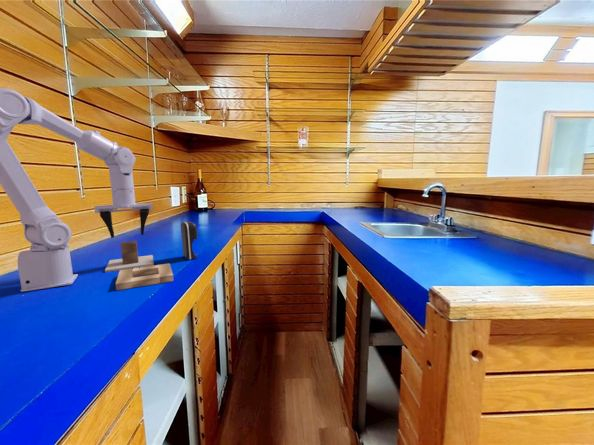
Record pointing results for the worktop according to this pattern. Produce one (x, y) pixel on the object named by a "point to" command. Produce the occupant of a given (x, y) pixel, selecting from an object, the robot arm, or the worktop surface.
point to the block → (129, 252)
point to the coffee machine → (188, 238)
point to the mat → (118, 264)
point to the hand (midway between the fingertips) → (127, 235)
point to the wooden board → (127, 280)
